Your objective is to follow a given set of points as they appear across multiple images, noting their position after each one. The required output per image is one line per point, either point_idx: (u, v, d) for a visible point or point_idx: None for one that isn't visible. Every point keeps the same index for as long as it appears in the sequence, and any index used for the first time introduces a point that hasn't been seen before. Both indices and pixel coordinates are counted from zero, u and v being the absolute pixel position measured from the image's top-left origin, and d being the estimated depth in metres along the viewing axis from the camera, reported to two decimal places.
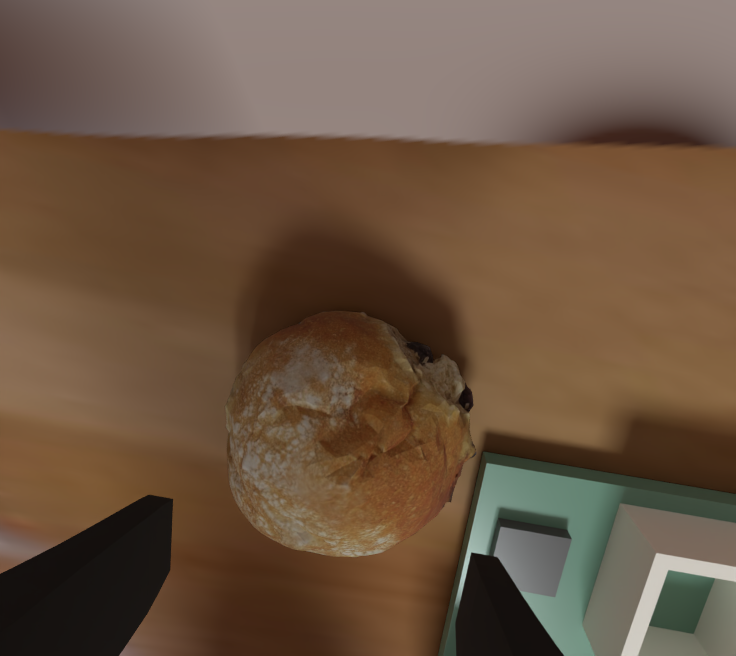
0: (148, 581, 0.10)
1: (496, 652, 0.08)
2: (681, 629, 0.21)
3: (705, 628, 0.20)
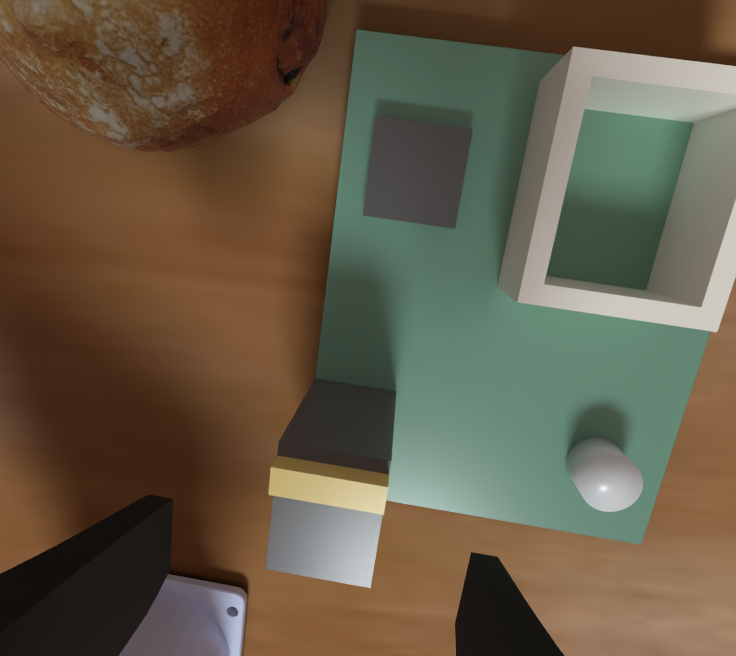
0: (148, 581, 0.10)
1: (496, 652, 0.08)
2: (629, 284, 0.15)
3: (660, 268, 0.15)
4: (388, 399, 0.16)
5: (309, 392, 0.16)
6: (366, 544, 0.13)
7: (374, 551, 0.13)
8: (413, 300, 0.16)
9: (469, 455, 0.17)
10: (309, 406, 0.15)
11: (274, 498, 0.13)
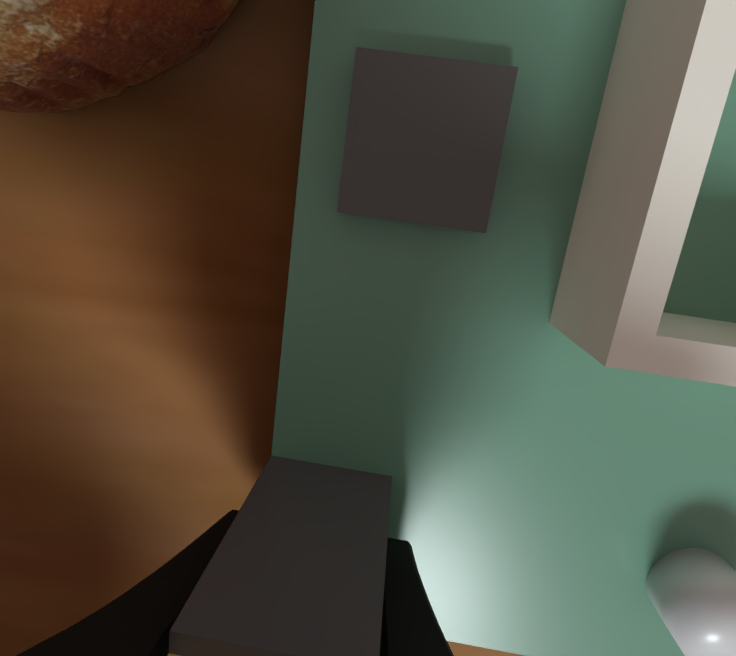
0: None
1: (381, 630, 0.08)
2: None
3: None
4: (379, 496, 0.10)
5: (255, 488, 0.10)
6: None
7: None
8: (417, 343, 0.10)
9: (500, 569, 0.12)
10: (248, 521, 0.09)
11: None
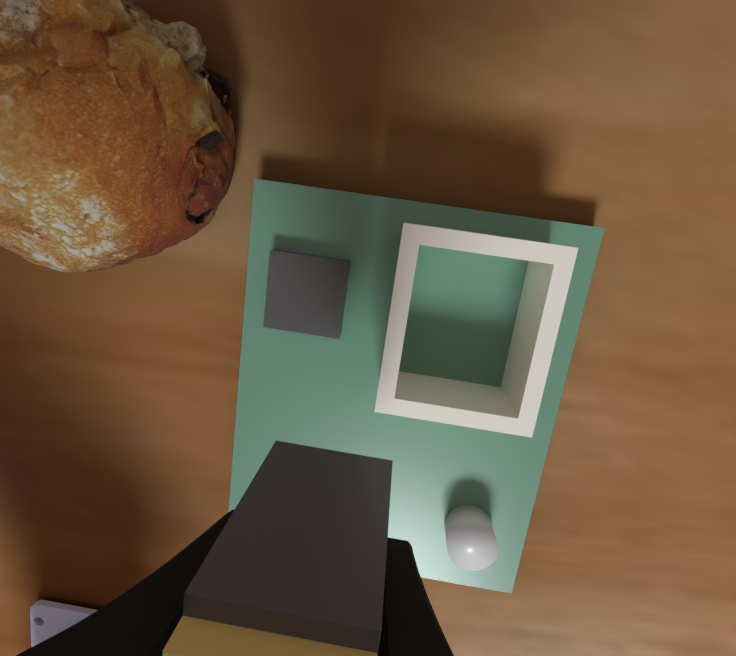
0: None
1: (381, 630, 0.08)
2: (487, 382, 0.19)
3: (507, 372, 0.18)
4: (380, 478, 0.11)
5: (261, 469, 0.10)
6: None
7: None
8: (310, 392, 0.19)
9: None
10: (255, 499, 0.09)
11: None
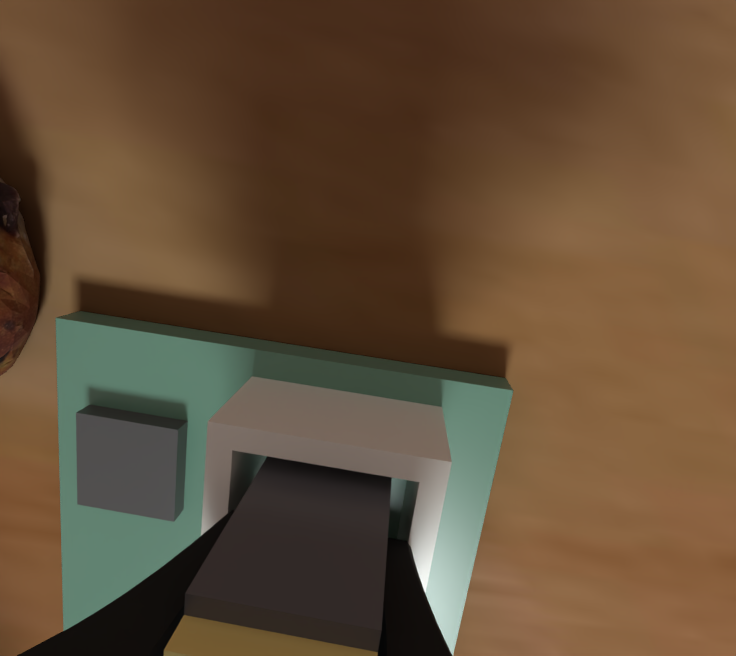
0: None
1: None
2: None
3: None
4: (381, 478, 0.11)
5: (262, 469, 0.10)
6: None
7: None
8: None
9: None
10: (256, 499, 0.09)
11: None
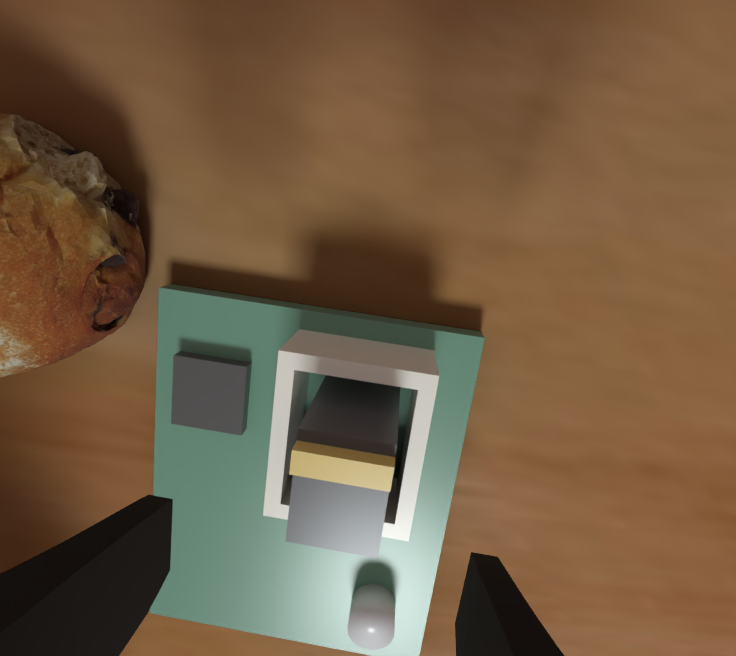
0: (148, 581, 0.10)
1: (496, 652, 0.08)
2: None
3: (399, 467, 0.19)
4: (393, 392, 0.18)
5: (322, 386, 0.17)
6: (374, 519, 0.14)
7: (381, 525, 0.14)
8: (221, 479, 0.20)
9: (277, 594, 0.22)
10: (322, 398, 0.16)
11: (293, 478, 0.14)
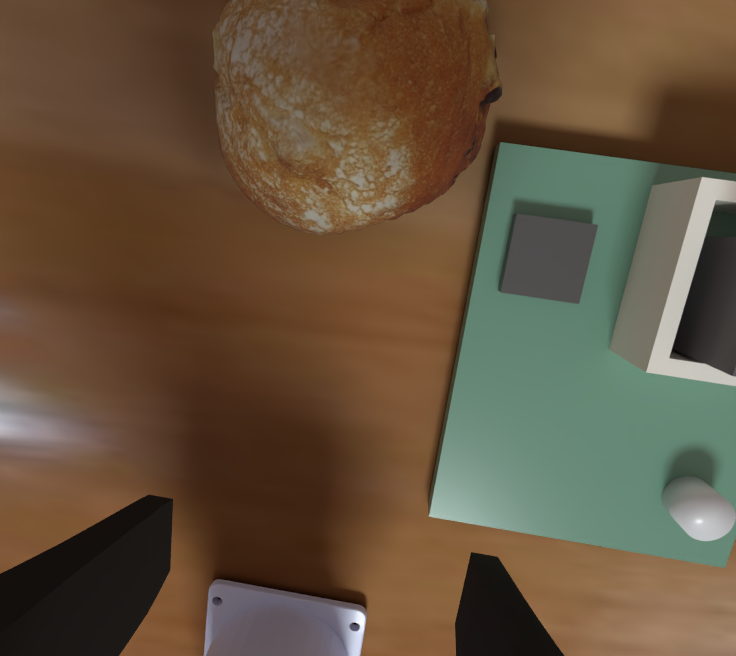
0: (148, 581, 0.10)
1: (496, 652, 0.08)
2: None
3: None
4: None
5: None
6: None
7: None
8: (535, 360, 0.19)
9: (577, 490, 0.20)
10: (727, 238, 0.15)
11: None
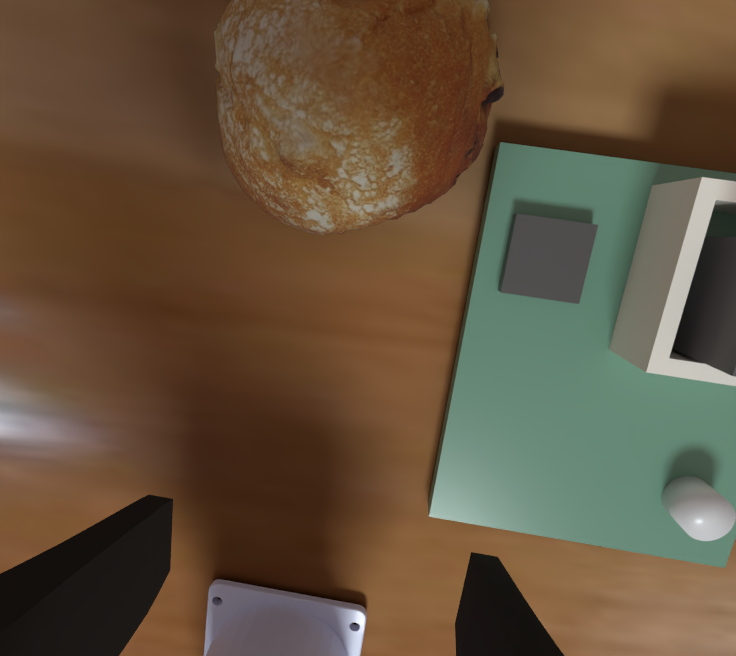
0: (148, 581, 0.10)
1: (496, 652, 0.08)
2: None
3: None
4: None
5: None
6: None
7: None
8: (535, 360, 0.19)
9: (577, 490, 0.20)
10: (727, 238, 0.15)
11: None
